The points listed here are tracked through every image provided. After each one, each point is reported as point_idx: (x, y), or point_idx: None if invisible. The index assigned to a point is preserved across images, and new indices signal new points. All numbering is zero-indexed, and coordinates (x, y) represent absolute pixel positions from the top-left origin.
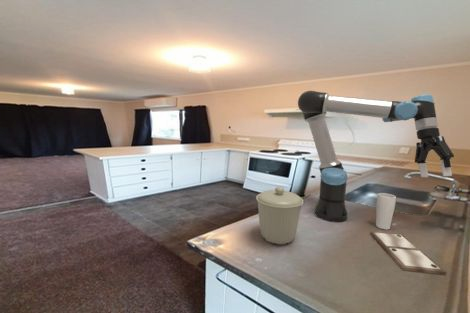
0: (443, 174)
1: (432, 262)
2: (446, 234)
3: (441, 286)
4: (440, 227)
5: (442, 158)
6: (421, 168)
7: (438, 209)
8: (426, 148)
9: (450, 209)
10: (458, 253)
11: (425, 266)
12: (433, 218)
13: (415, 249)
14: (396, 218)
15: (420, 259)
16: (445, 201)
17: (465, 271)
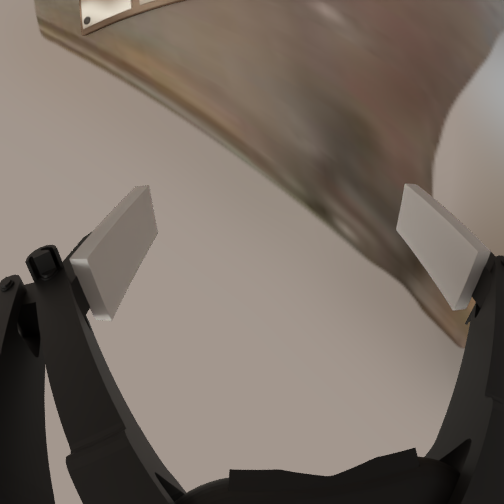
0: (137, 191)
1: (97, 21)
2: (276, 138)
3: (63, 21)
4: (329, 159)
5: (34, 260)
6: (444, 228)
7: None
8: (379, 493)
9: None
10: (166, 95)
11: (83, 7)
12: None
13: (139, 2)
14: (389, 53)
15: (100, 3)
16: None
17: (104, 70)
